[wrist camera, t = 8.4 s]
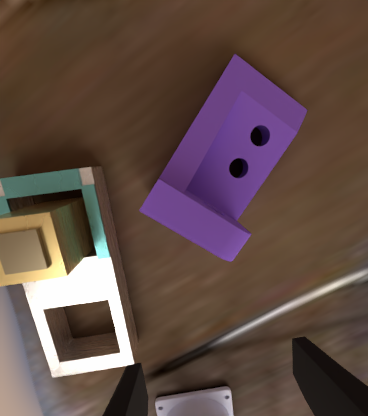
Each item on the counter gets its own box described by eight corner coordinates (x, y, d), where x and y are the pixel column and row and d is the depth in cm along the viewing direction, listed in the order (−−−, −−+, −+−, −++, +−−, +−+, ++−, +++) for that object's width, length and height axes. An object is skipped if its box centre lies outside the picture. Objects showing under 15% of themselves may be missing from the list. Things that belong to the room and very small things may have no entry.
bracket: (215, 232, 19) (239, 269, 13) (150, 193, 18) (139, 210, 12) (295, 114, 18) (372, 85, 11) (229, 63, 17) (268, -4, 10)
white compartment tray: (138, 340, 21) (133, 366, 18) (66, 352, 21) (51, 379, 18) (102, 166, 17) (89, 166, 15) (14, 177, 17) (-14, 180, 14)
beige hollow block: (100, 240, 19) (64, 279, 12) (54, 247, 18) (-5, 289, 12) (89, 195, 18) (46, 213, 12) (41, 202, 18) (-29, 223, 11)
